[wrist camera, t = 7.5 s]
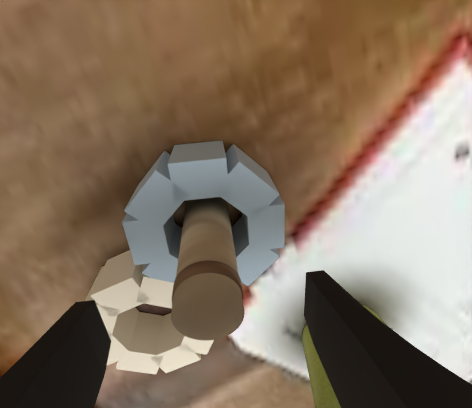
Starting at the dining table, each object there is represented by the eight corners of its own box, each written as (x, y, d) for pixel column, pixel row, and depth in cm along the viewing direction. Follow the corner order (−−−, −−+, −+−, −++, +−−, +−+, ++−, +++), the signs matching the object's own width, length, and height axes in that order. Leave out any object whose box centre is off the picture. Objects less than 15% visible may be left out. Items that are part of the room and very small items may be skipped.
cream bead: (140, 345, 21) (131, 386, 18) (72, 275, 18) (48, 313, 15) (233, 308, 20) (237, 345, 18) (180, 227, 17) (175, 258, 14)
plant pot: (279, 292, 20) (325, 436, 12) (407, 274, 21) (528, 403, 13) (281, 373, 24) (316, 518, 17) (387, 357, 25) (469, 491, 17)
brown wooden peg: (188, 226, 17) (176, 346, 10) (181, 188, 16) (162, 292, 9) (230, 221, 17) (248, 336, 10) (226, 183, 16) (243, 281, 9)
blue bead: (154, 266, 18) (145, 302, 15) (124, 149, 15) (106, 170, 12) (272, 252, 18) (284, 284, 16) (270, 135, 15) (284, 151, 12)
